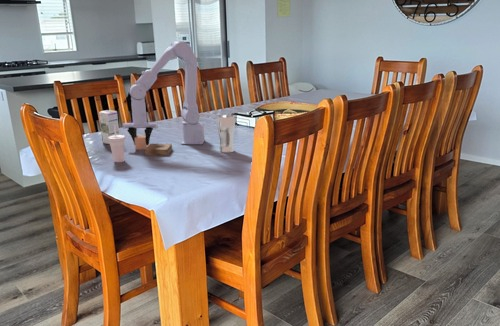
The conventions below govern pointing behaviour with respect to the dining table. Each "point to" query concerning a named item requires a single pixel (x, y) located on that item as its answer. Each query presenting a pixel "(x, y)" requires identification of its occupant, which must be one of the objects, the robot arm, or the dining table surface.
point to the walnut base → (158, 149)
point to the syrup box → (108, 124)
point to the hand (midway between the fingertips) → (141, 144)
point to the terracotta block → (140, 142)
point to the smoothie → (117, 146)
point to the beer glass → (226, 132)
